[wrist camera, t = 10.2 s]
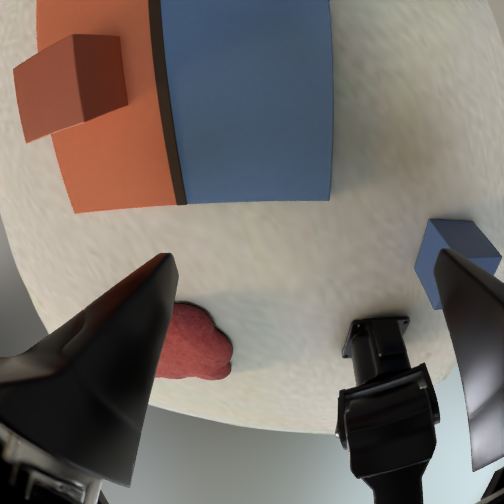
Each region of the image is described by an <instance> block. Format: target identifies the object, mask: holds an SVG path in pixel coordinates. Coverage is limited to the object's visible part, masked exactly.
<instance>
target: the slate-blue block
mask: <svg viewBox="0 0 504 504" xmlns="http://www.w3.org/2000/svg"><path fill="white" fill-rule="evenodd" d="M442 248H451V249H453V250H455V251H456V252H458V253H460V254H461V255H463V256H464V257H466V258H467V259H469V260H470V261H472V262H474V263H475V264H477V265H478V266H480V267H481V268H483V269H484V270H485V271H487V272H488V273H490V274H491V275H493V276H494V274H495V272H496V270H497V267H498V265H499V263H500V261H501V259H502V256H501V255H500V253H499V252H498V251H497V249H496V248H495V247H494V246H493V244H492V243H491V242H490V241H489V240H488V238H487V237H486V236H485V235H484V234H483V233H482V231H481V230H480V229H479V228H478V227H477V226H476V225H475V223H474V222H473V221H459V220H438V219H429V221H428V225H427V228H426V232H425V235H424V239H423V242H422V245H421V248H420V252H419V255H418V258H417V261H416V264H415V267H414V269H415V271H416V273H417V275H418V277H419V279H420V281H421V283H422V285H423V287H424V289H425V291H426V294H427V296H428V298H429V300H430V302H431V304H432V306H433V309H434V310H439V309H442V305H441V301H440V297H439V293H438V289H437V285H436V281H435V277H434V273H433V269H434V265H435V262H436V259H437V256H438V253H439V251H440V250H441V249H442Z"/></svg>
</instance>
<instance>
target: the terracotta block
mask: <svg viewBox="0 0 504 504" xmlns="http://www.w3.org/2000/svg"><path fill="white" fill-rule="evenodd" d="M13 74H14V83H15V90H16V97H17V103H18V109H19V114H20V119H21V124H22V128H23V133H24V137H25V141H26V144H28V143H30V142H33V141H35V140H37V139H40V138H43V137H45V136H48V135H50V134H53V133H56V132H59V131H61V130H64V129H67V128H70V127H73V126H76V125H79V124H82V123H85V122H88V121H90V120H92V119H95V118H97V117H99V116H102V115H104V114H107V113H109V112H112V111H115V110H117V109H120V108H123V107H125V106H128V100H127V94H126V87H125V80H124V72H123V64H122V55H121V45H120V37H119V36H111V35H94V34H71V35H69V36H67V37H65V38H64V39H62V40H60V41H58V42H56V43H54V44H52V45H51V46H49V47H47V48H45V49H44V50H42V51H40V52H39V53H37V54H35V55H34V56H32V57H31V58H29V59H28V60H26V61H25V62H23V63H22V64H20V65H19V66H17V67H16V68H14V69H13Z"/></svg>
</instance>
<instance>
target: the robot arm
mask: <svg viewBox="0 0 504 504" xmlns="http://www.w3.org/2000/svg"><path fill="white" fill-rule="evenodd" d="M433 273H434V277H435V281H436V285H437V289H438V293H439V297H440V301H441V305H442V309H443V313H444V316H445V319H446V322H447V326H448V329H449V332H450V336H451V339H452V343H453V347H454V351H455V354H456V358H457V363H458V367H459V371H460V375H461V380H462V385H463V390H464V395H465V402H466V408H467V414H468V423H469V431H470V442H471V456H472V471H473V472H475V471H477V470H479V469H481V468H483V467H485V466H487V465H489V464H491V463H493V462H495V461H497V460H498V459H500V458H502V457H504V283H503V282H501V281H500V280H498V279H497V278H496V277H494V276H493V275H491V274H490V273H488V272H487V271H485V270H484V269H483V268H481V267H480V266H478V265H477V264H475V263H474V262H472V261H470V260H469V259H467V258H466V257H464V256H463V255H461V254H460V253H458V252H456V251H455V250H453V249H451V248H442V249H441V250H440V251H439V253H438V256H437V259H436V262H435V265H434V269H433ZM178 278H179V275H178V270H177V267H176V264H175V260H174V257H173V255H172V254H171V253H159V254H158V255H156V256H155V257H154V258H152V259H151V260H149V261H148V262H147V263H145V264H144V265H142V266H141V267H140V268H138V269H137V270H135V271H134V272H133V273H131V274H130V275H129V276H127V277H126V278H124V279H123V280H122V281H120V282H119V283H118V284H116V285H115V286H114V287H112V288H111V289H110V290H108V291H107V292H106V293H104V294H103V295H102V296H100V297H99V298H98V299H96V300H95V301H94V302H92V303H91V304H90V305H88V306H87V307H86V308H85V309H84V310H82V311H81V312H79V313H78V314H77V315H76V316H74V317H73V318H72V319H70V320H69V321H68V322H66V323H65V324H64V325H62V326H61V327H59V328H58V329H57V330H55V331H54V332H52V333H51V334H50V335H48V336H47V337H45V338H44V339H43V340H41V341H40V342H39V343H37V344H35V345H34V346H33V347H31V348H30V349H28V350H27V351H26V352H24V353H22V354H20V355H17V356H13V357H0V504H109V503H108V502H107V500H106V498H105V497H104V495H103V493H102V491H101V489H100V488H101V484H102V480H103V479H105V480H108V481H110V482H113V483H115V484H118V485H121V486H124V487H127V488H130V486H131V481H132V476H133V470H134V465H135V460H136V455H137V450H138V446H139V441H140V436H141V431H142V427H143V422H144V418H145V414H146V409H147V405H148V401H149V397H150V393H151V389H152V386H153V382H154V378H155V374H156V370H157V367H158V363H159V359H160V356H161V352H162V348H163V345H164V341H165V338H166V334H167V331H168V328H169V324H170V320H171V316H172V311H173V306H174V300H175V295H176V289H177V284H178ZM409 322H410V319H409V317H408V316H403V317H391V318H378V319H362V320H354V321H353V322H352V323H351V326H350V329H349V332H348V336H347V339H346V342H345V345H344V348H343V351H342V358H352V361H353V368H354V374H355V381H356V387H354V388H350V389H346V390H345V389H343V390H340V391H339V398H338V421H337V426H336V431H335V435H336V437H337V438H339V439H340V441H341V444H342V446H343V448H344V450H348V452H349V459H350V469H351V471H352V473H353V474H354V475H355V477H356V478H357V479H360V478H361V479H362V480H363V481H364V482H365V483H366V484H367V485H368V486H369V487H370V488H371V489H372V490H373V495H374V504H423V490H422V475H423V474H424V471H425V469H426V467H427V465H428V463H429V461H430V459H431V458H432V455H433V453H434V450H435V446H436V434H435V427H434V425H435V424H438V423H440V412H439V406H438V402H437V398H436V394H435V391H434V388H433V384H432V382H431V379H430V376H429V373H428V370H427V367H426V364H425V362H424V363H422V364H420V365H419V366H416V367H414V368H411V365H410V362H409V358H408V355H407V350H406V346H405V343H404V340H403V337H402V336H403V334H404V332H405V330H406V328H407V326H408V324H409ZM421 387H422V388H421ZM420 388H421V389H420ZM476 504H504V467H502V468H501V469H499V470H497V471H495V473H494V475H493V477H492V479H491V481H490V483H489V485H488V487H487V489H486V491H485V493H484V494H483V496H482V498H481V501H479V502H478V503H476Z"/></svg>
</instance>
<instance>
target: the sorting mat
mask: <svg viewBox="0 0 504 504" xmlns="http://www.w3.org/2000/svg"><path fill="white" fill-rule="evenodd" d="M36 22H37V46H38V53H39V52H40V51H42V50H44V49H45V48H47V47H49V46H51V45H52V44H54V43H56V42H58V41H60V40H62V39H64V38H65V37H67V36H69V35H71V34H94V35H111V36H119V37H120V45H121V55H122V64H123V72H124V80H125V87H126V94H127V100H128V106H125V107H123V108H120V109H117V110H115V111H112V112H109V113H107V114H104V115H102V116H99V117H97V118H95V119H92V120H90V121H88V122H85V123H82V124H79V125H76V126H73V127H70V128H67V129H64V130H61V131H59V132H56V133H53V134H51V137H52V141H53V145H54V149H55V153H56V156H57V160H58V164H59V167H60V171H61V174H62V177H63V180H64V184H65V187H66V190H67V193H68V196H69V199H70V202H71V205H72V207H73V210H74V213H75V214H76V213H85V212H94V211H104V210H114V209H126V208H138V207H150V206H165V205H187V204H199V203H221V202H251V201H329V198H330V183H331V166H332V142H333V55H332V33H331V18H330V5H329V0H37V10H36Z"/></svg>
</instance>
